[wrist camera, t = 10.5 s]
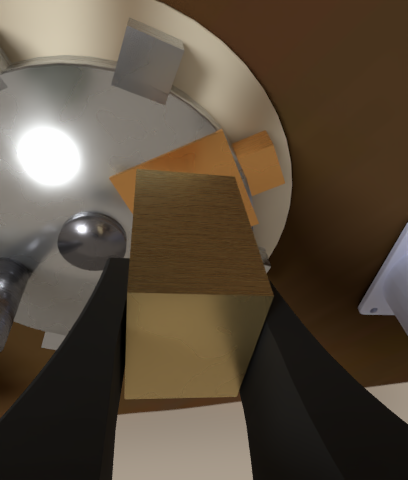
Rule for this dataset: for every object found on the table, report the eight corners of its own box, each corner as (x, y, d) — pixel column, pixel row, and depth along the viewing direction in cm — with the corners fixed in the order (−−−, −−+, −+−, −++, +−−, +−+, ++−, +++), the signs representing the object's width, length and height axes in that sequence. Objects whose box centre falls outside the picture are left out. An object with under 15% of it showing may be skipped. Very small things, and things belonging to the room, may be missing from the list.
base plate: (349, 20, 15) (353, 22, 15) (245, 332, 27) (246, 337, 27) (-241, -71, 12) (-252, -71, 11) (-58, 330, 24) (-61, 336, 23)
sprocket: (195, -97, 12) (218, -112, 7) (310, 274, 23) (345, 353, 19) (-234, 132, 15) (-392, 215, 10) (53, 362, 26) (33, 448, 22)
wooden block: (136, 168, 11) (127, 292, 7) (234, 176, 12) (273, 296, 8) (133, 267, 14) (124, 399, 10) (214, 270, 14) (236, 396, 10)
